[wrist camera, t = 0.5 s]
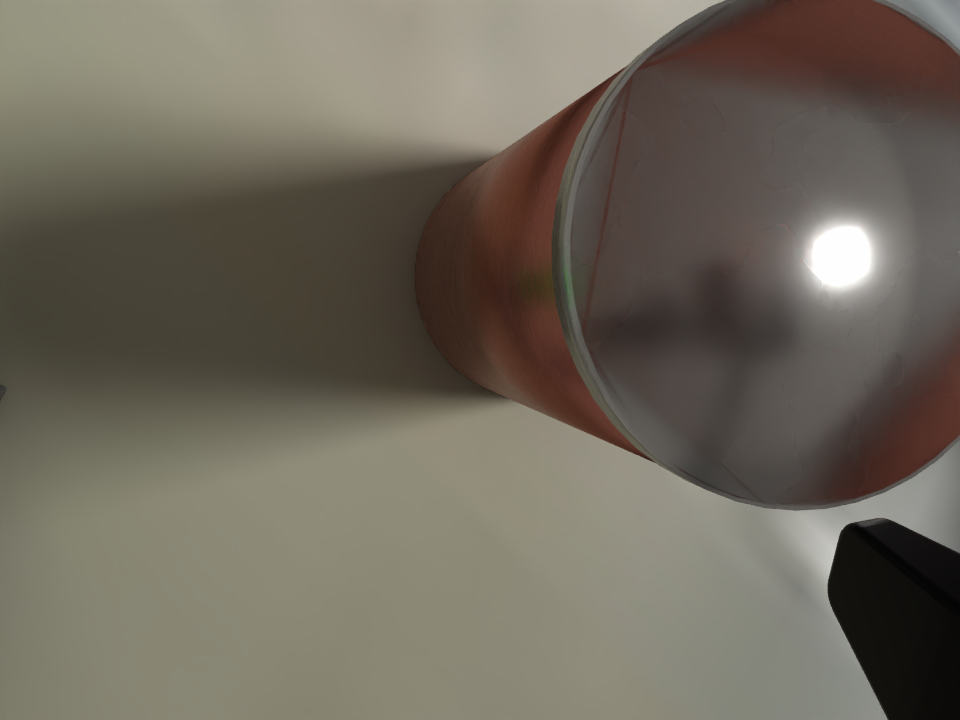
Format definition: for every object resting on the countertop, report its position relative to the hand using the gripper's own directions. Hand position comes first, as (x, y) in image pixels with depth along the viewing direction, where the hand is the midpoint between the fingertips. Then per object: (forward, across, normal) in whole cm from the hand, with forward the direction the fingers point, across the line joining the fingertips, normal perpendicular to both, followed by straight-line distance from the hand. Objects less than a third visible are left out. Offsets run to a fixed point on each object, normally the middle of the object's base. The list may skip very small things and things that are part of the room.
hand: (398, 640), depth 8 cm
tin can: (+15, -6, +4) cm, 17 cm away
